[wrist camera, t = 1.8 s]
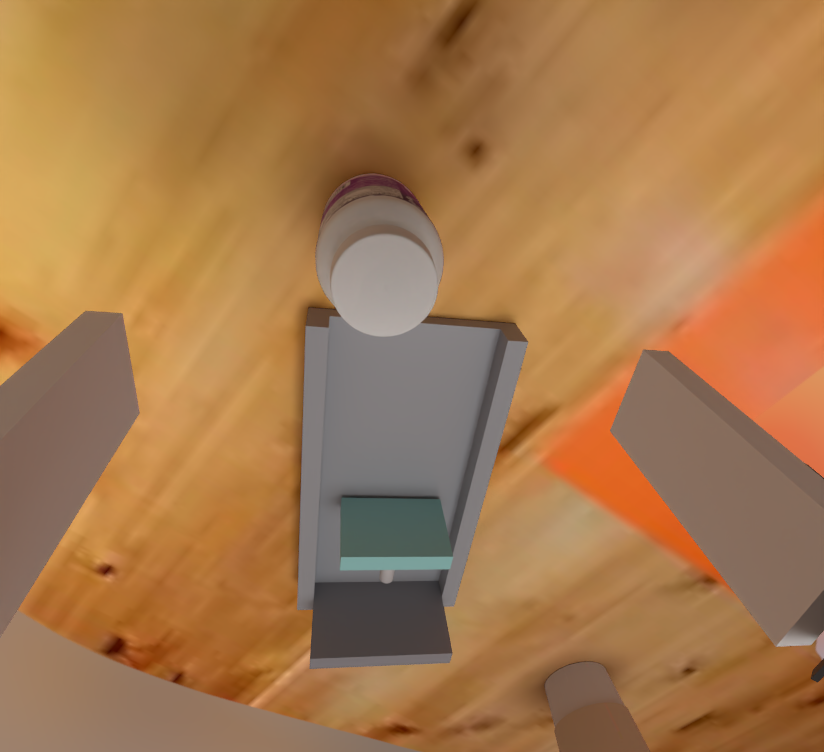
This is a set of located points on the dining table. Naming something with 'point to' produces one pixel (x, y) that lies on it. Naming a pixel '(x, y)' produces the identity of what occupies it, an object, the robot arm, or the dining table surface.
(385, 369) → the lane
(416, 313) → the pill bottle
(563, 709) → the coffee cup
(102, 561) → the dining table surface
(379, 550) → the pusher
